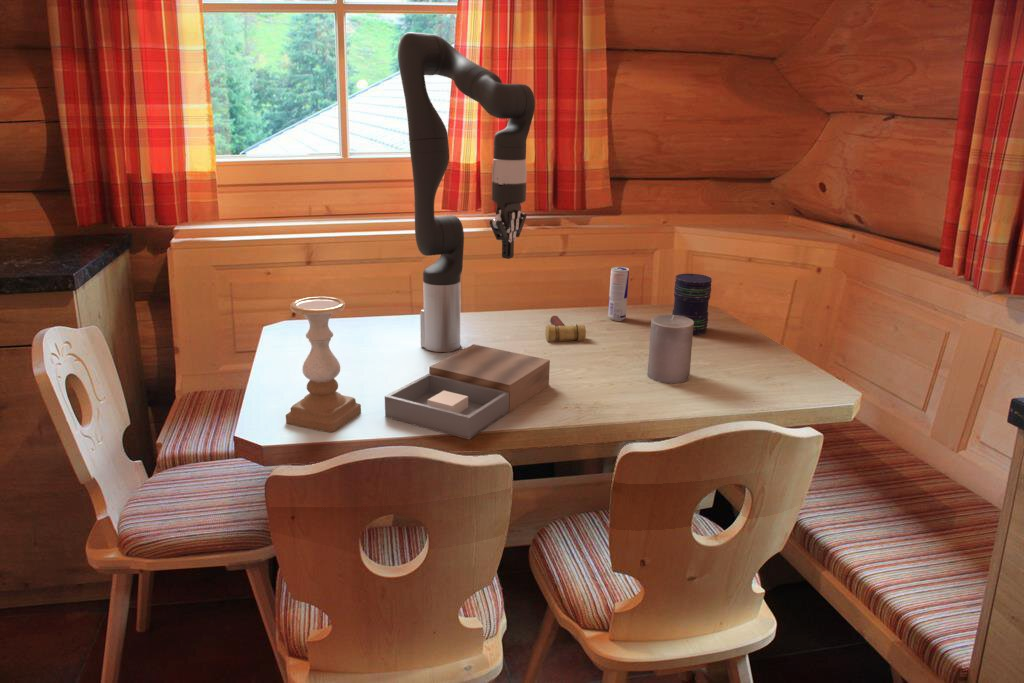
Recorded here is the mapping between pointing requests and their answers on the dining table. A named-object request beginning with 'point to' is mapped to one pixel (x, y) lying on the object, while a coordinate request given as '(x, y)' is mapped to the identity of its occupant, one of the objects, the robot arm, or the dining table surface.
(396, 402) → the box
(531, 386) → the brown wooden box
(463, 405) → the tile
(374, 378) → the dining table surface
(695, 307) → the storage jar
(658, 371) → the pillar candle
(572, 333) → the gavel
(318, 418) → the candle holder
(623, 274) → the beverage can
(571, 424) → the dining table surface
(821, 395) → the dining table surface
